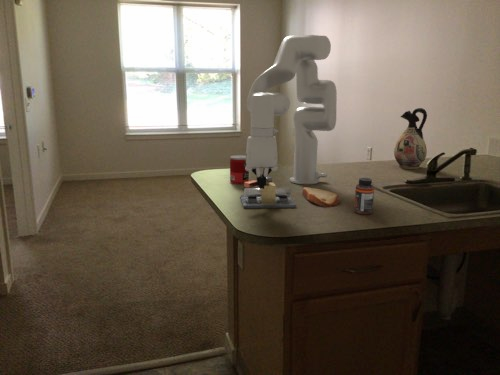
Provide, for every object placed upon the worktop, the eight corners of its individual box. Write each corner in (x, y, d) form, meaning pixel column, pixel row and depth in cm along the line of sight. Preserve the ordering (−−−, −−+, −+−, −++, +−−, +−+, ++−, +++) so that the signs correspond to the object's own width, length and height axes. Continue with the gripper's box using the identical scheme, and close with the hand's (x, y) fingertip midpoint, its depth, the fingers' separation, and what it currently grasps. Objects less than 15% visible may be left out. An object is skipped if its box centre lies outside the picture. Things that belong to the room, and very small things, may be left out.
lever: (266, 180, 158) (266, 176, 158) (273, 181, 156) (274, 177, 156) (242, 186, 148) (242, 182, 148) (250, 187, 146) (250, 183, 146)
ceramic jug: (388, 168, 223) (393, 107, 216) (397, 163, 235) (403, 106, 228) (423, 172, 214) (430, 109, 207) (431, 167, 226) (438, 107, 219)
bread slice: (305, 191, 176) (306, 182, 175) (349, 198, 166) (350, 188, 166) (284, 201, 161) (285, 191, 160) (331, 209, 152) (332, 198, 151)
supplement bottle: (351, 209, 150) (353, 177, 147) (368, 209, 150) (371, 176, 148) (357, 215, 144) (359, 181, 141) (375, 214, 145) (377, 180, 142)
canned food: (246, 185, 183) (247, 158, 181) (227, 183, 185) (228, 157, 182) (250, 181, 190) (250, 155, 188) (232, 179, 192) (232, 154, 189)
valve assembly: (288, 196, 165) (288, 176, 163) (296, 207, 152) (297, 185, 150) (239, 197, 163) (240, 177, 161) (243, 208, 150) (243, 186, 148)
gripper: (282, 131, 148) (281, 184, 153) (237, 131, 146) (237, 185, 151) (287, 134, 141) (285, 190, 146) (240, 134, 139) (240, 191, 144)
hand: (261, 187), depth 148 cm, fingers closed
